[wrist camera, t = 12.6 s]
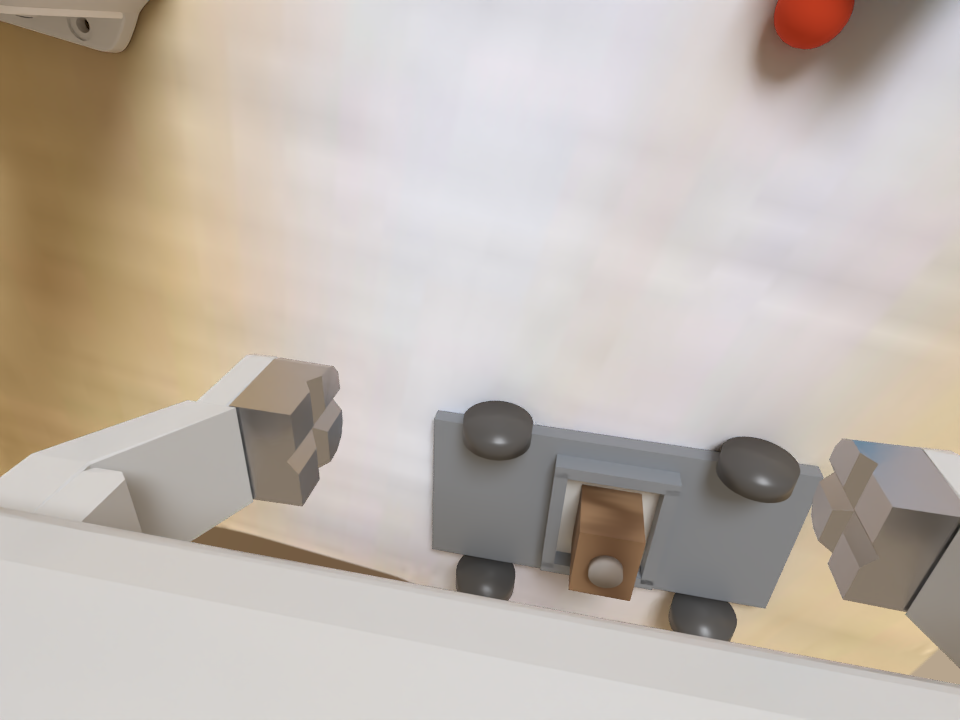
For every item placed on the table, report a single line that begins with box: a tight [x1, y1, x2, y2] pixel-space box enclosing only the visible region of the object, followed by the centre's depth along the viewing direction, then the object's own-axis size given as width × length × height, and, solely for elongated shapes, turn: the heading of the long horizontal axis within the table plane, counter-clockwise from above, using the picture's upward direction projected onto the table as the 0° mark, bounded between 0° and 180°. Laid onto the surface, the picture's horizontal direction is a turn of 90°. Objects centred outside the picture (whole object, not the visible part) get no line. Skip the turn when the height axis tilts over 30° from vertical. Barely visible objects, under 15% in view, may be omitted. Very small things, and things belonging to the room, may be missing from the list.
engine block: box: [569, 484, 646, 601], centre depth 45 cm, size 4×6×6 cm
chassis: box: [432, 401, 824, 642], centre depth 46 cm, size 28×17×5 cm, turn 87°
